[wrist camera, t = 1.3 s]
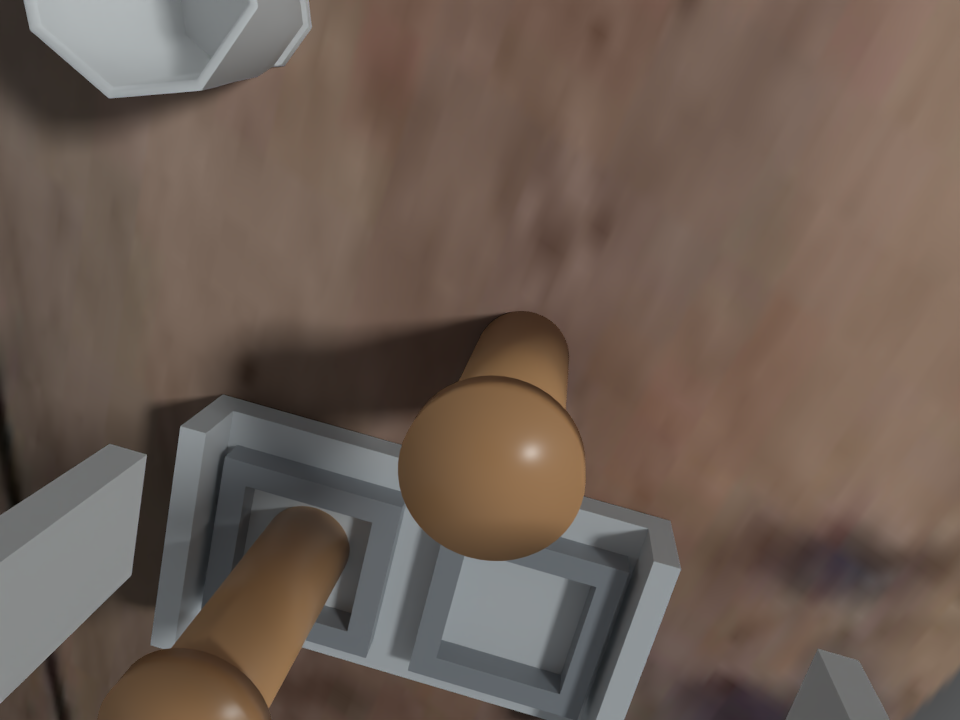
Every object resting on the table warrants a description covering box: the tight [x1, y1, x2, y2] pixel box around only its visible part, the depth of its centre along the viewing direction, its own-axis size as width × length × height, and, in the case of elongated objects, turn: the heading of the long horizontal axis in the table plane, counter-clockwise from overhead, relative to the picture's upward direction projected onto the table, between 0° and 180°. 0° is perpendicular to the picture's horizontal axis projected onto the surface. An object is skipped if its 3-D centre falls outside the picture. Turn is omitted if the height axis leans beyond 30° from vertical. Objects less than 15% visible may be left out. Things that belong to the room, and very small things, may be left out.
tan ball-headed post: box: [398, 311, 586, 561], centre depth 25 cm, size 5×5×11 cm
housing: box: [151, 395, 681, 720], centre depth 32 cm, size 10×19×4 cm, turn 76°
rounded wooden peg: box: [98, 506, 350, 720], centre depth 27 cm, size 5×5×11 cm
